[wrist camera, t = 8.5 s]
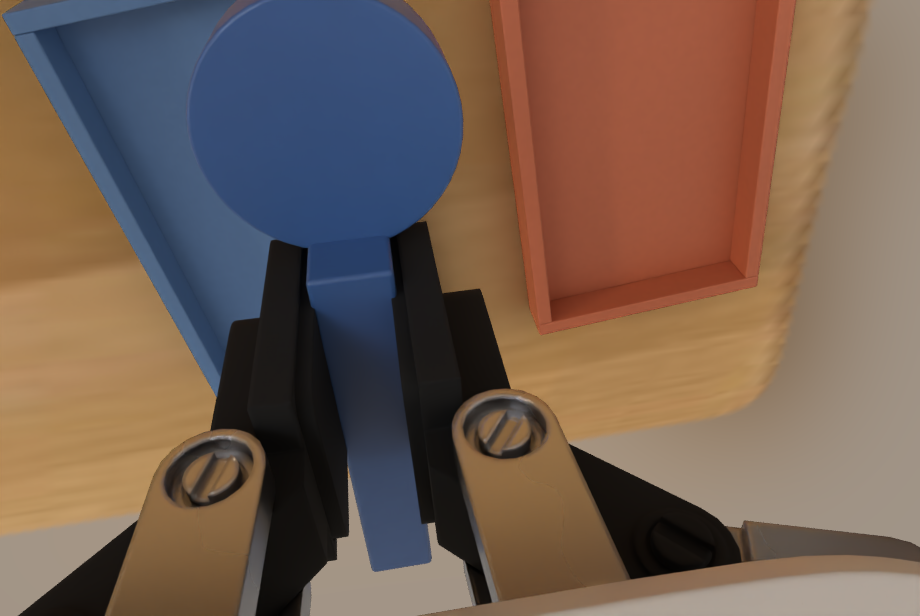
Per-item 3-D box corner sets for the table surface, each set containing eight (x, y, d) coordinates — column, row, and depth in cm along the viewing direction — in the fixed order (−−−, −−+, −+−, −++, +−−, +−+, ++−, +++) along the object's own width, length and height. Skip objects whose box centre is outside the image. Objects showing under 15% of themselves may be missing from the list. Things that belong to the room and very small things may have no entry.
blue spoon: (473, 468, 15) (491, 554, 13) (313, 493, 15) (311, 584, 13) (443, -42, 9) (470, -7, 7) (165, -19, 9) (122, 24, 7)
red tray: (475, -100, 20) (487, -92, 19) (782, -166, 21) (819, -163, 19) (529, 308, 30) (540, 336, 29) (735, 261, 31) (757, 286, 29)
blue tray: (26, -3, 20) (0, 14, 19) (339, -70, 20) (339, -59, 19) (227, 376, 30) (222, 408, 29) (437, 329, 30) (442, 358, 29)
